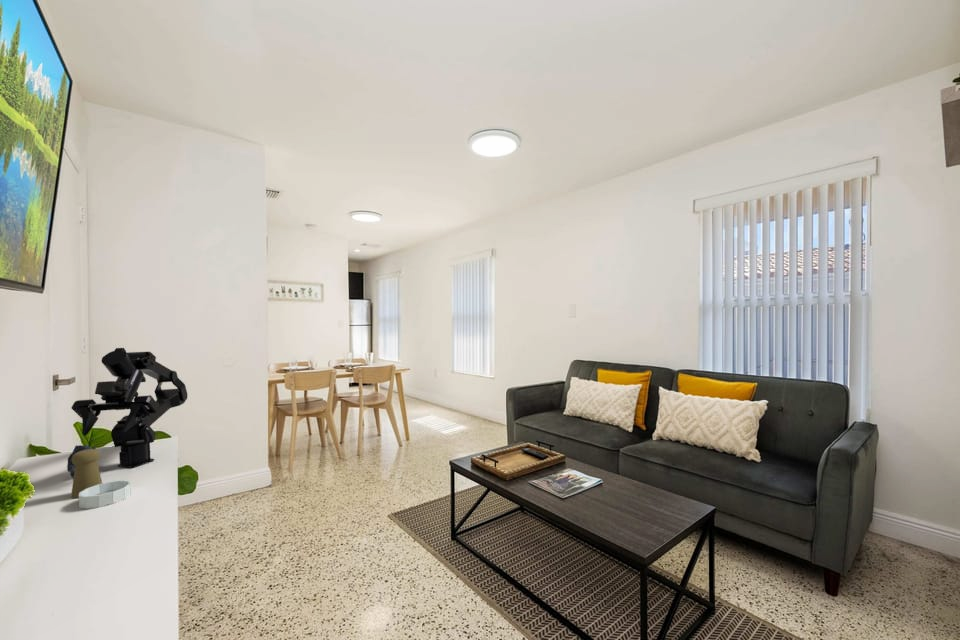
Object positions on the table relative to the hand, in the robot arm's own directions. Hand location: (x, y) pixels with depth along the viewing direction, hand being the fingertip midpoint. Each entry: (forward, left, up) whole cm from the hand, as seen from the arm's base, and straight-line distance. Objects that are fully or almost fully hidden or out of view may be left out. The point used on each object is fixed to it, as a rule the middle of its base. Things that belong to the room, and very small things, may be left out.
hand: (104, 433), depth 113 cm
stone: (-2, -13, -14) cm, 19 cm away
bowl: (+8, +13, -13) cm, 20 cm away
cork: (+6, +4, -14) cm, 16 cm away
